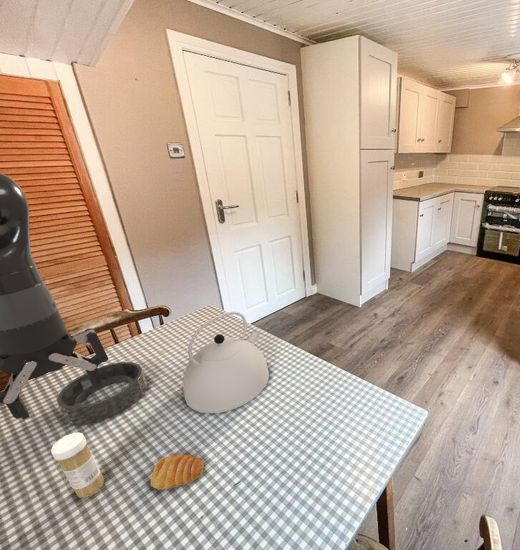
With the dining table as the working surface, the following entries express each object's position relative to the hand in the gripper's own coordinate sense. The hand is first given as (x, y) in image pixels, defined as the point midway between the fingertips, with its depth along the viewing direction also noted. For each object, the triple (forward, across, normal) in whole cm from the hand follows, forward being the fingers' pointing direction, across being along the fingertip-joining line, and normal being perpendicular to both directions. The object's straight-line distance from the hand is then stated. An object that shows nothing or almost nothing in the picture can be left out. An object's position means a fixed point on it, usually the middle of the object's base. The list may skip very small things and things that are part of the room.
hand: (62, 400), depth 50 cm
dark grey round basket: (+25, -7, -32) cm, 41 cm away
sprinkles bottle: (+25, +2, -5) cm, 26 cm away
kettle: (+25, -32, -12) cm, 43 cm away
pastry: (+25, -10, +5) cm, 28 cm away
